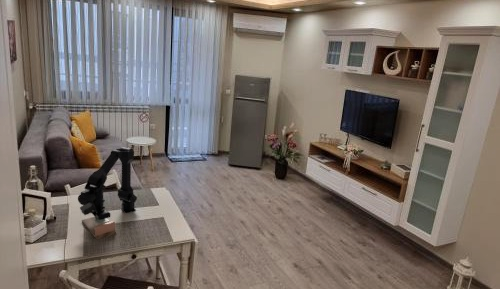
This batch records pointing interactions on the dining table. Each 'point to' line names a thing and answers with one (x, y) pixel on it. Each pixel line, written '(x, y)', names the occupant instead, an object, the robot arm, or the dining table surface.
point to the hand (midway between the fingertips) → (98, 223)
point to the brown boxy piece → (100, 228)
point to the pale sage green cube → (100, 221)
